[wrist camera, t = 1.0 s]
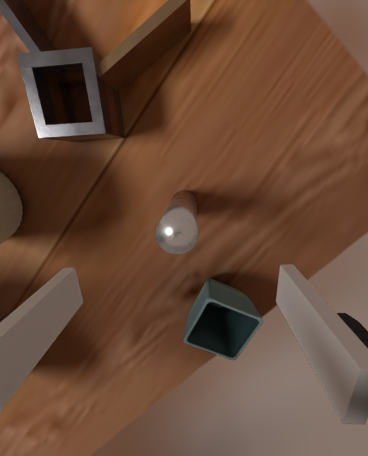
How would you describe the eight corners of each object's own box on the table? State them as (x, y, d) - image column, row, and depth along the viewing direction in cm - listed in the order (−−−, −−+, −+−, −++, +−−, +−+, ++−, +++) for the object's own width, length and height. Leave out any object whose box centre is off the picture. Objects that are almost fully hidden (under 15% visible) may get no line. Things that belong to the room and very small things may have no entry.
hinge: (43, 143, 31) (2, 140, 24) (1, -19, 25) (-67, -80, 19) (194, 133, 30) (194, 127, 23) (188, -41, 24) (186, -116, 17)
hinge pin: (172, 215, 34) (157, 254, 21) (170, 191, 33) (153, 216, 19) (196, 214, 34) (198, 253, 20) (195, 190, 32) (196, 214, 19)
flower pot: (249, 283, 37) (265, 320, 29) (226, 318, 40) (235, 362, 32) (204, 264, 37) (208, 297, 28) (184, 302, 39) (181, 342, 31)
